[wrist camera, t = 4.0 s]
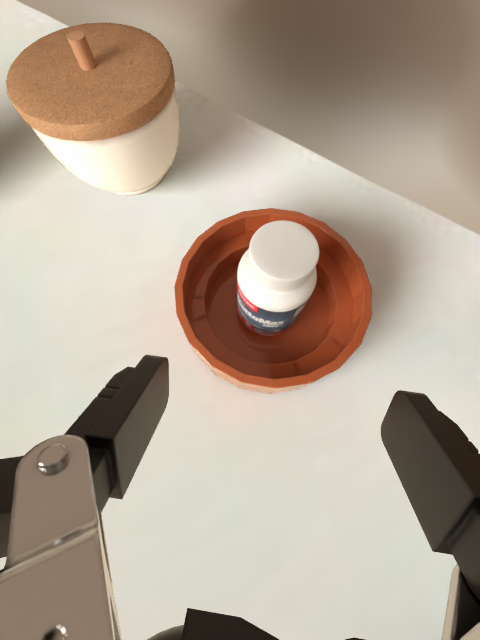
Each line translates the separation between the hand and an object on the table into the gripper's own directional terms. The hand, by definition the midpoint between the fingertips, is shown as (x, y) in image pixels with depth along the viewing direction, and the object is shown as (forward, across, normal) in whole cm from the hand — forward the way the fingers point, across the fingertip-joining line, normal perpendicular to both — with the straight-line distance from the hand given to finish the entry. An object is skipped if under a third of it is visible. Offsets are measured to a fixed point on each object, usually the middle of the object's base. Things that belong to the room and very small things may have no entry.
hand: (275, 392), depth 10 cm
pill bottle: (+14, 0, +3) cm, 15 cm away
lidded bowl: (+25, +16, -7) cm, 30 cm away
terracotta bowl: (+14, 0, +3) cm, 15 cm away
